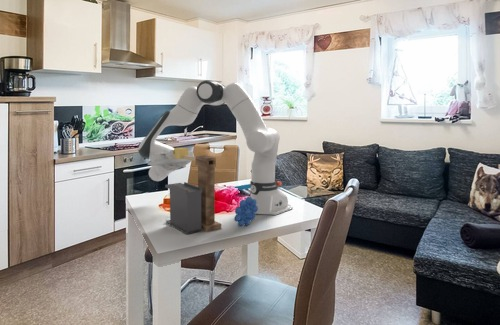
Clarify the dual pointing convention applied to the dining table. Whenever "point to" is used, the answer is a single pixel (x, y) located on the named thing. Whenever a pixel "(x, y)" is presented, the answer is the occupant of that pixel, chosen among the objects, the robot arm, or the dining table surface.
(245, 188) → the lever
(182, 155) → the yellow rectangular bar
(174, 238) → the dining table surface
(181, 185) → the cradle
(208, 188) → the stand
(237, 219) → the grapes
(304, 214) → the dining table surface
